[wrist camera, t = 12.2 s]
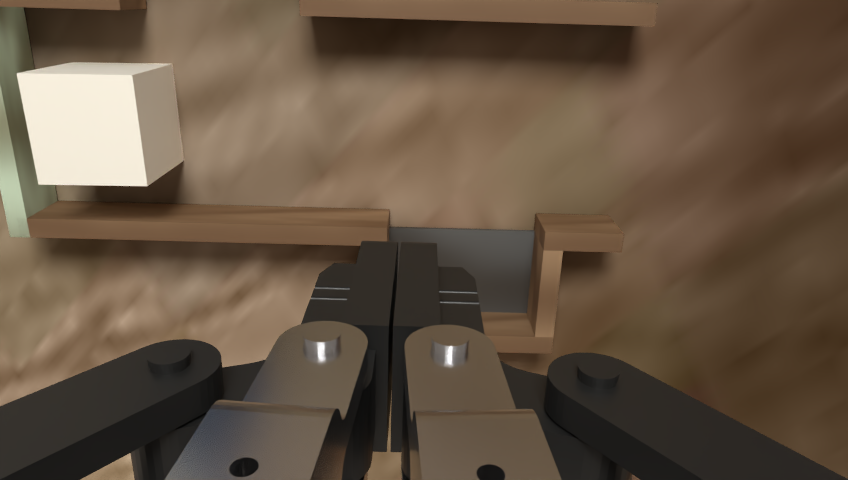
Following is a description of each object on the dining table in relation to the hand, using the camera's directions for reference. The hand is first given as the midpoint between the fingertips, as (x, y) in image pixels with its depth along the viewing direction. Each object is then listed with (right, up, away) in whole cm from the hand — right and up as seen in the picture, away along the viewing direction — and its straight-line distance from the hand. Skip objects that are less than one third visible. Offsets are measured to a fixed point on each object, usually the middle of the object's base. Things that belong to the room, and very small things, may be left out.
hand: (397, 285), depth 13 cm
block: (-15, +8, +21) cm, 27 cm away
